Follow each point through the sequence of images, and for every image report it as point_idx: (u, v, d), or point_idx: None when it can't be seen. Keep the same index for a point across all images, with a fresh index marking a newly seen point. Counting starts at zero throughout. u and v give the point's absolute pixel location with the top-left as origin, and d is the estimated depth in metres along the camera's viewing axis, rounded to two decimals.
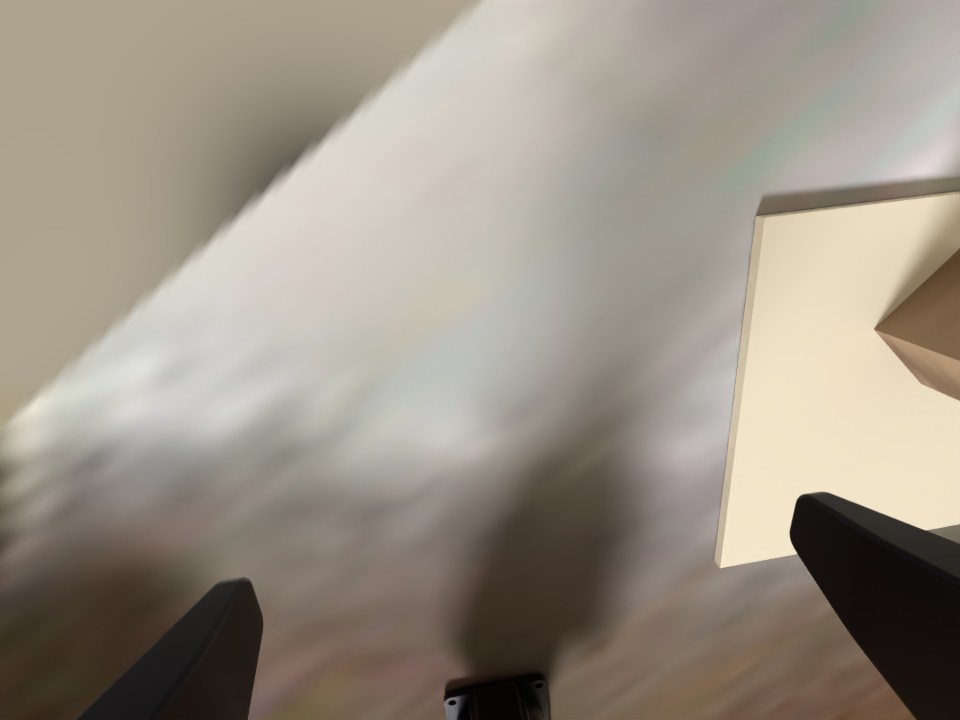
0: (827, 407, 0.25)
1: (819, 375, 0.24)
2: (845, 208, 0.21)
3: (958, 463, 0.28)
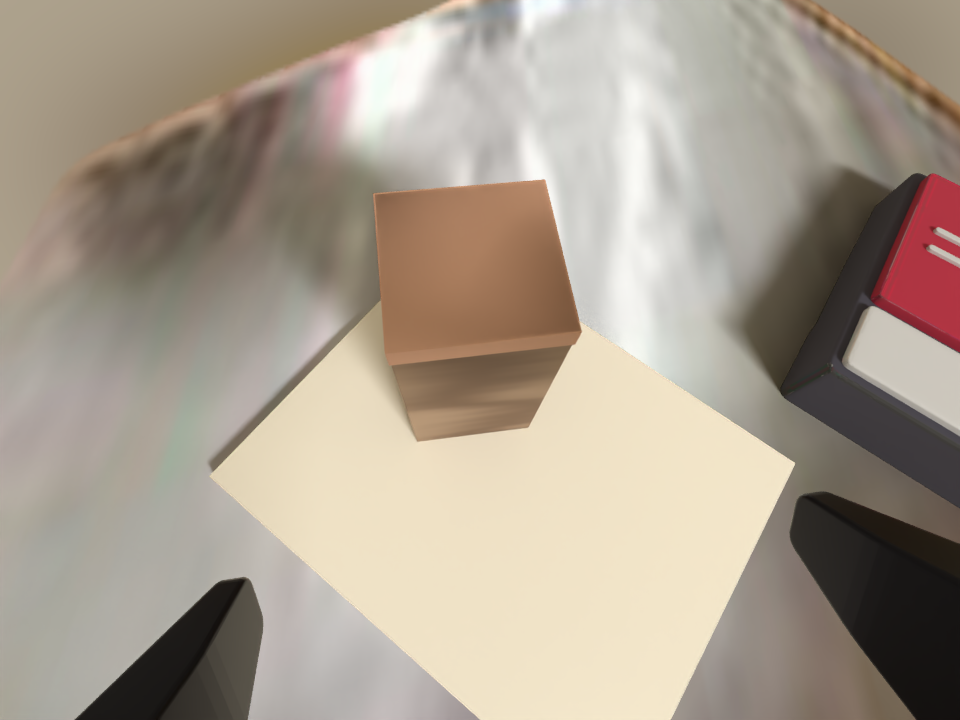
0: (467, 531, 0.20)
1: (418, 518, 0.20)
2: (275, 409, 0.22)
3: (679, 435, 0.22)
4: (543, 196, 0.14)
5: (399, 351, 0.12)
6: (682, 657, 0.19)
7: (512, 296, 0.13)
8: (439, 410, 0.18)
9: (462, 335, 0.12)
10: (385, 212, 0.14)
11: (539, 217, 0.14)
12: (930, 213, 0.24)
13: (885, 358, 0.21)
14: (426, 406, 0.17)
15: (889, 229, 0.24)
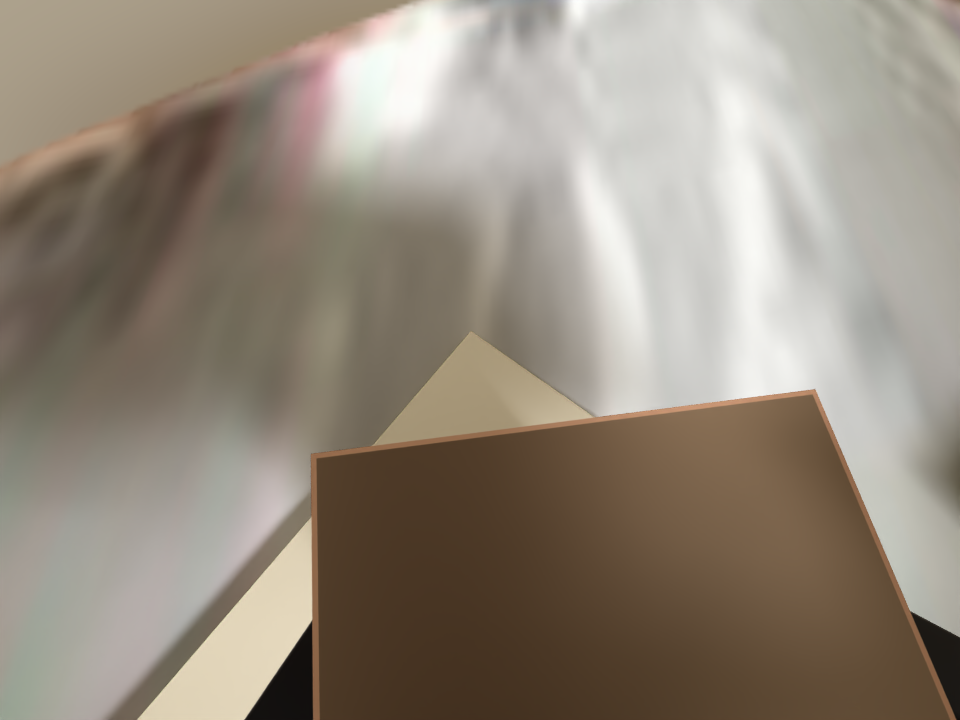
0: None
1: None
2: (175, 677, 0.12)
3: None
4: (825, 451, 0.05)
5: None
6: None
7: None
8: None
9: None
10: (346, 530, 0.04)
11: (832, 534, 0.04)
12: None
13: None
14: None
15: None
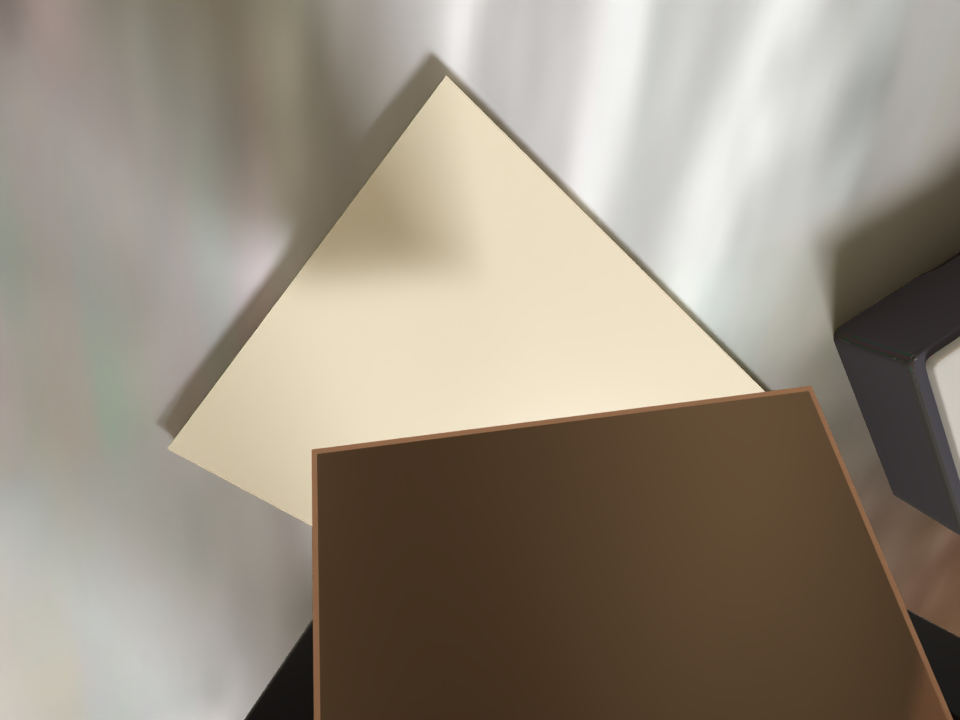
0: None
1: None
2: (224, 373, 0.17)
3: None
4: (821, 447, 0.05)
5: None
6: None
7: None
8: None
9: None
10: (347, 525, 0.04)
11: (828, 529, 0.04)
12: None
13: None
14: None
15: None
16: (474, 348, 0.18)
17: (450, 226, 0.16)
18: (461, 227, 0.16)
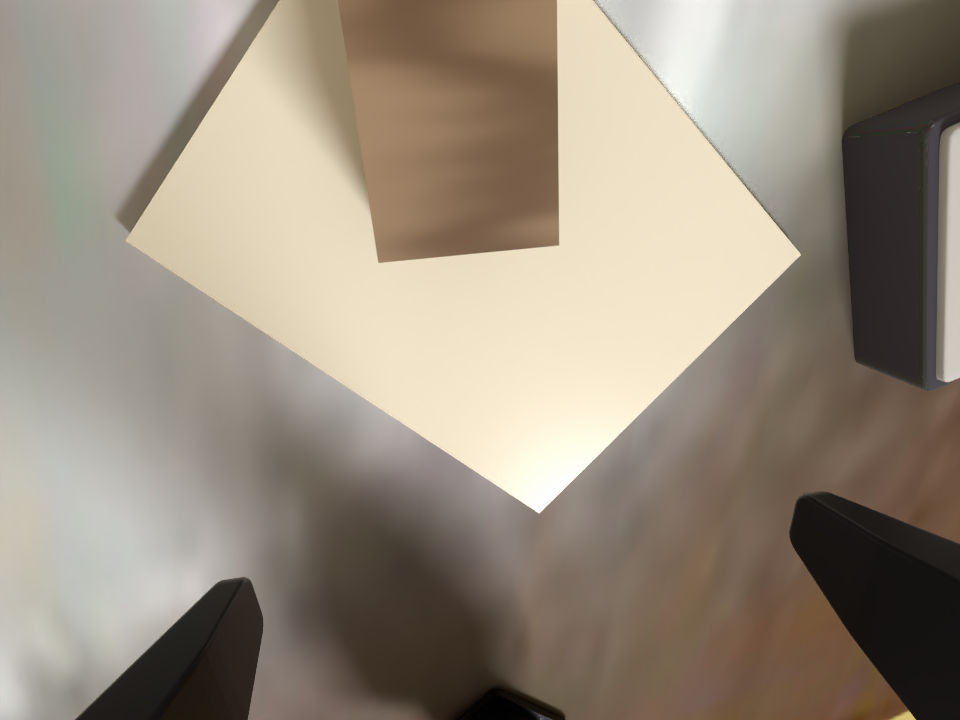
0: (442, 312, 0.19)
1: (389, 297, 0.19)
2: (184, 151, 0.16)
3: (693, 217, 0.19)
4: None
5: None
6: (623, 415, 0.22)
7: None
8: (399, 76, 0.12)
9: None
10: None
11: None
12: None
13: None
14: (375, 40, 0.11)
15: None
16: None
17: None
18: None
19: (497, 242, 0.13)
